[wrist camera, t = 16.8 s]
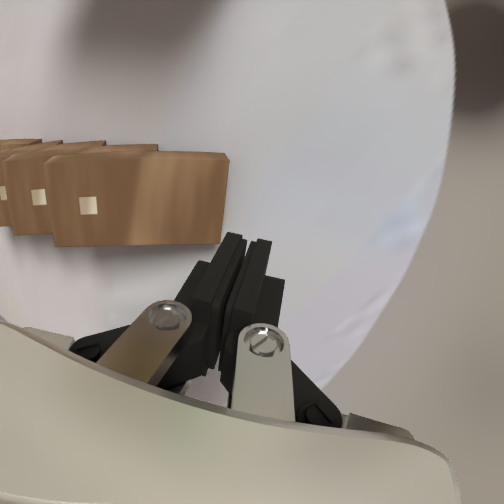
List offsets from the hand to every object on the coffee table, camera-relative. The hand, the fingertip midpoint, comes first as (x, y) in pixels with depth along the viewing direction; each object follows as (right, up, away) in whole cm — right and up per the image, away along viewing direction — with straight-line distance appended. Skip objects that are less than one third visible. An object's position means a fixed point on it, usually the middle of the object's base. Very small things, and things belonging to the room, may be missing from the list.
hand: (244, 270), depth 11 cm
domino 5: (-1, +4, +6) cm, 7 cm away
